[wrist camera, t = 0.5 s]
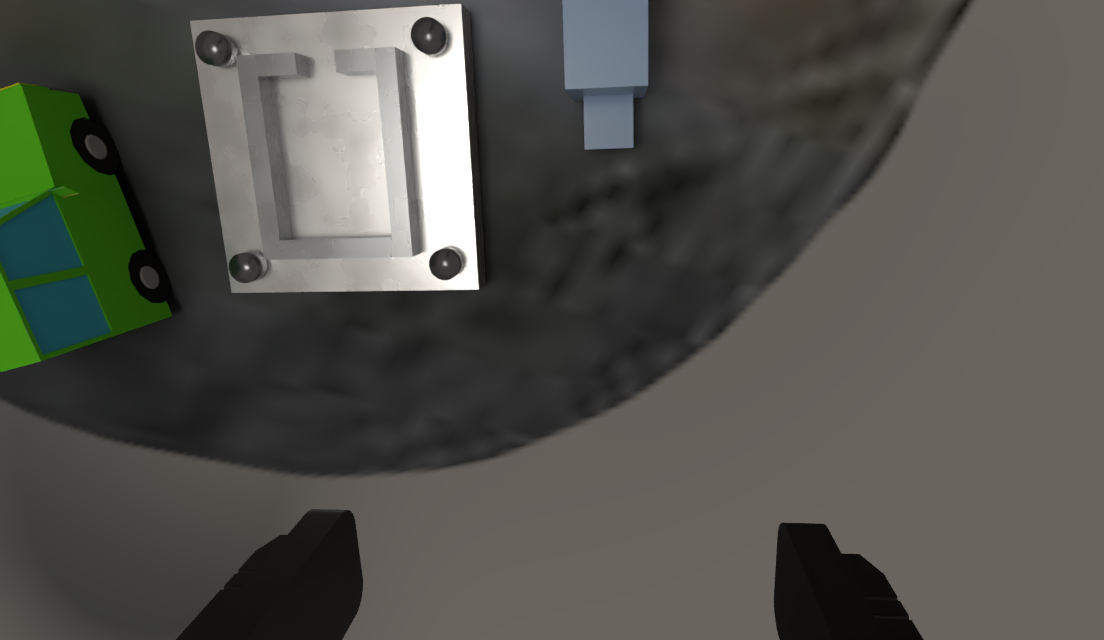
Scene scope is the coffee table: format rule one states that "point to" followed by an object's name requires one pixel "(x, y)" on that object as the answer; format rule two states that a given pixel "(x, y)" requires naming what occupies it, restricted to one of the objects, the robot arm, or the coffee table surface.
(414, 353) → the coffee table surface
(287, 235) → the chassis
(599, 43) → the block
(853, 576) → the robot arm
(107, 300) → the toy car
